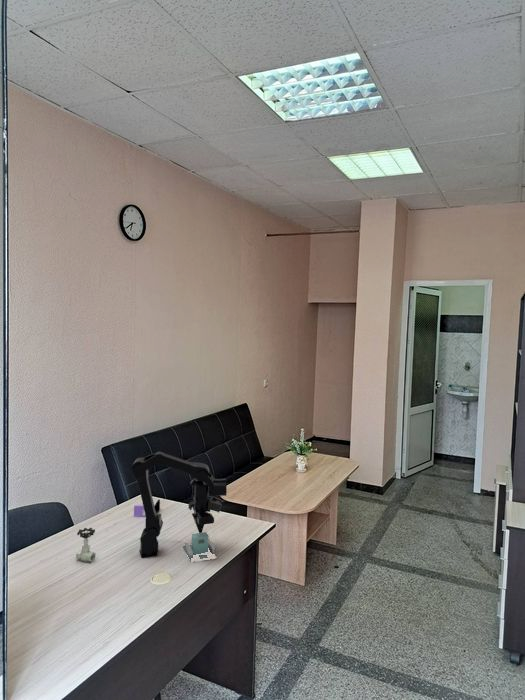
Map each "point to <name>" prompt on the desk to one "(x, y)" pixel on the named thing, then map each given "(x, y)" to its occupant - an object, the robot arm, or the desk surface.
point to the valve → (86, 546)
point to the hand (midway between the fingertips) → (200, 532)
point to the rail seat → (190, 554)
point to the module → (200, 543)
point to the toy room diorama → (140, 509)
